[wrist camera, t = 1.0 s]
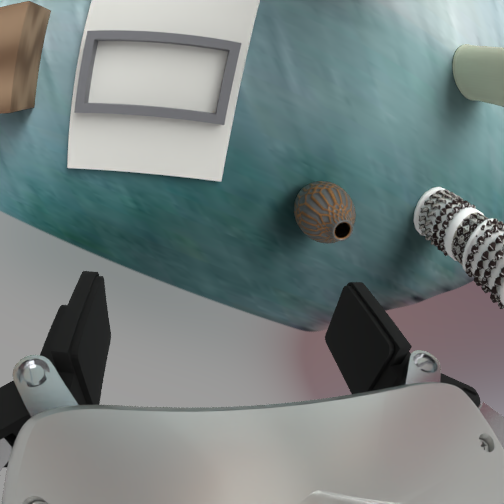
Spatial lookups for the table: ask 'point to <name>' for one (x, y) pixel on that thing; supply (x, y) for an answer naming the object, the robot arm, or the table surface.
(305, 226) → the vase
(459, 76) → the can
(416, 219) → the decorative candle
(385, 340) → the robot arm
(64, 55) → the table surface
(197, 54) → the slot board
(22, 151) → the table surface
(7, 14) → the walnut bar
